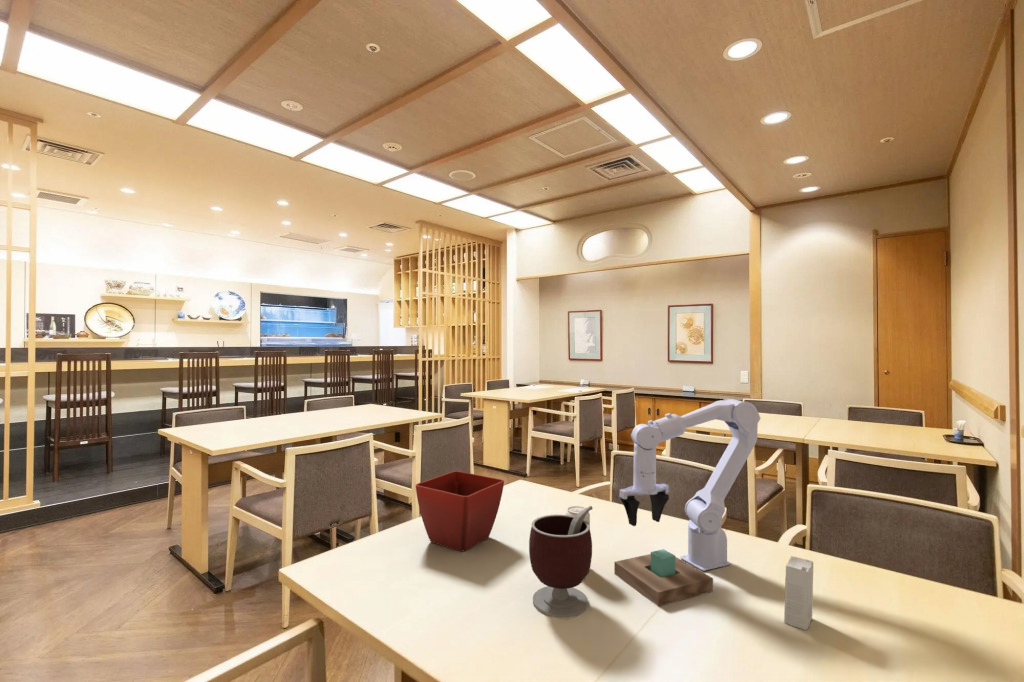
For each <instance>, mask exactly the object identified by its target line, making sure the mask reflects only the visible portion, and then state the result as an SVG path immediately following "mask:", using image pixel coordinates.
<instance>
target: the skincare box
mask: <svg viewBox="0 0 1024 682" xmlns="http://www.w3.org/2000/svg"><path fill="white" fill-rule="evenodd" d="M784 580H785V582H784V615H783V617H784V619H783V621H784V623H785V624H788V625H790V626H793V627H795V628H799V629H801V630H804V631H805V630H806V631H808V629H809V626H810V624H811V621H812V619H813V609H814V608H813V604H814V603H813V600H814V599H813V598H814V597H813V596H814V595H813V594H814V593H813V592H814V561H813V560H810V559H805V558H802V557H797V556H790V558H789V559H788V561H787V563H786V565H785V579H784Z"/></svg>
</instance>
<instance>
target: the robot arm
mask: <svg viewBox="0 0 1024 682" xmlns="http://www.w3.org/2000/svg"><path fill="white" fill-rule="evenodd" d="M714 420H718V421H721V422H722V421H723V422H724V423H725V424H726V425H727V426H728V429H729V431H730V433H731V436H732V437H731V440H730V441H729V443H728V444H727V447H726V449H725V450H724V452H723V453H722V456H721V457H720V459H719V461H718V463H717V464H716V466H715V468H714V470H713V472H712V473H711V475H710V476H709V479H708V481H707V482H706V483H705V485H704V487H703V488H702V489H699V490H698V491H696V493H695V494H694V495H693V497H691V498H690V499H688V501H687V502H686V503H685V506H684V513H685V515H686V517H688V519H689V521H688V523H687V526H688V528H687V537H688V538H687V542H688V543H687V550H688V551H687V554H686V555H683V556H680V560H682V561H684V562H685V563H687V564H689V565H691V566H692V567H694V568H696V569H698V570H699V571H701V572H705V571H709V570H714V569H717V568H721V567H725V566H726V567H727V566H728V565H730V564H731V563H730V562H729V561H728V537H727V533H726V532H725V530H724V529H723V528H722V527H721V526H722V524H723V516H724V513H725V512H726V507H725V499H726V497H727V495H728V493H729V492H730V490H731V488H732V486H733V485H734V483H735V481H736V479H737V478H738V476H739V473H740V472H741V470H742V468H743V467H744V465H745V464H746V461H747V460H748V458H749V456H750V454H751V453H752V450H753V449H754V447H755V445H756V444H757V442H758V425H759V424H758V423H759V422H760V421H761V415H760V413H759V411H758V408H757V407H756V406H755V405H754V404H753V403H751V402H749V401H743V400H738V399H735V398H732V397H728V398H724V399H723V400H722V399H721V400H716V401H714V402H712V403H710V404H707V405H705V406H702V407H700V408H698V409H695V410H693V411H690V412H688V413H686V414H683V415H681V416H680V415H678V414H676V413H668V412H667V413H666V414H664V417H661V418H659V419H655V420H652V419H651V420H648V421H647V423H639V424H637V425H635V427H634V428H633V429H632V432H631V433H630V438H631V439H632V441H633V474H632V476H633V478H632V479H633V481H632V482H633V485H631V486H628V487H626V488H621V489H619V499H620V501H621V502H622V505H623V507H624V509H625V512H626V513H625V514H626V515H627V520H628V524H629V525H630V526H632V527H637V523H638V522H637V520H638V509H639V506H640V501H639V500H637V499H636V498H637V497H640V496H648V495H649V498H650V504H651V519H652V520H653V521H655V522H656V523H659V522H660V520H661V517H662V513H663V510H664V508H665V505H666V504H667V502H668V501H669V500H670V498H669V497H670V495H669V494H668V493H670V487H669V486H670V485H669V484H666V483H657V447H658V446H659V444H660V443H663V442H666V441H669V440H672V439H674V438H677V437H680V436H683V435H684V434H685V432H686V430H687V429H688V428H691V427H694V426H697V425H701V424H704V423H708V422H711V421H714ZM635 497H636V498H635Z"/></svg>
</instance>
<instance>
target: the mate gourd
mask: <svg viewBox="0 0 1024 682" xmlns="http://www.w3.org/2000/svg"><path fill="white" fill-rule="evenodd" d="M585 508H586V509H584V510H582V511H581V512H579V513H578V514H577V515H576V516H575V517H574V516H569V515H566V514H548V515H547V514H546V515H543V516H539V517H537V518H535V519H534V520H533V521H532V522H531V527H530V532H529V540H528V553H529V560H530V562H529V563H530V566H531V570H532V572H533V573H534V575H535V576H536V577H537V579H538V580H539V581H540V583H542V585H545V586H544V587H541V588H539V589H537V590H536V591H535V592H534V593H533V596H532V605H533V607H534V608H535V609H536V610H537V611H538V612H540V613H541V614H543V615H546V616H548V617H552V618H557V619H569V618H575V617H577V616H580V615H582V614H583V613H585V612H586V611H587V610H588V608H589V598H588V597H587V595H586V594H585V593H584V592H582V591H581V590H580V589H578V588H576V587H578V586H579V585H581V583H583V581H584V580H585V579H586V577H587V576H588V575H589V572H590V569H591V565H592V564H591V563H592V557H593V541H592V533H591V528H590V527H591V526H589V524H588V523H587V522H586V521H585V520H584V518H585V516H586V515H587V513H588V512H589V513H590V511H592V510H593V506H592V505H589V506H588V507H585ZM589 528H590V529H589Z"/></svg>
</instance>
